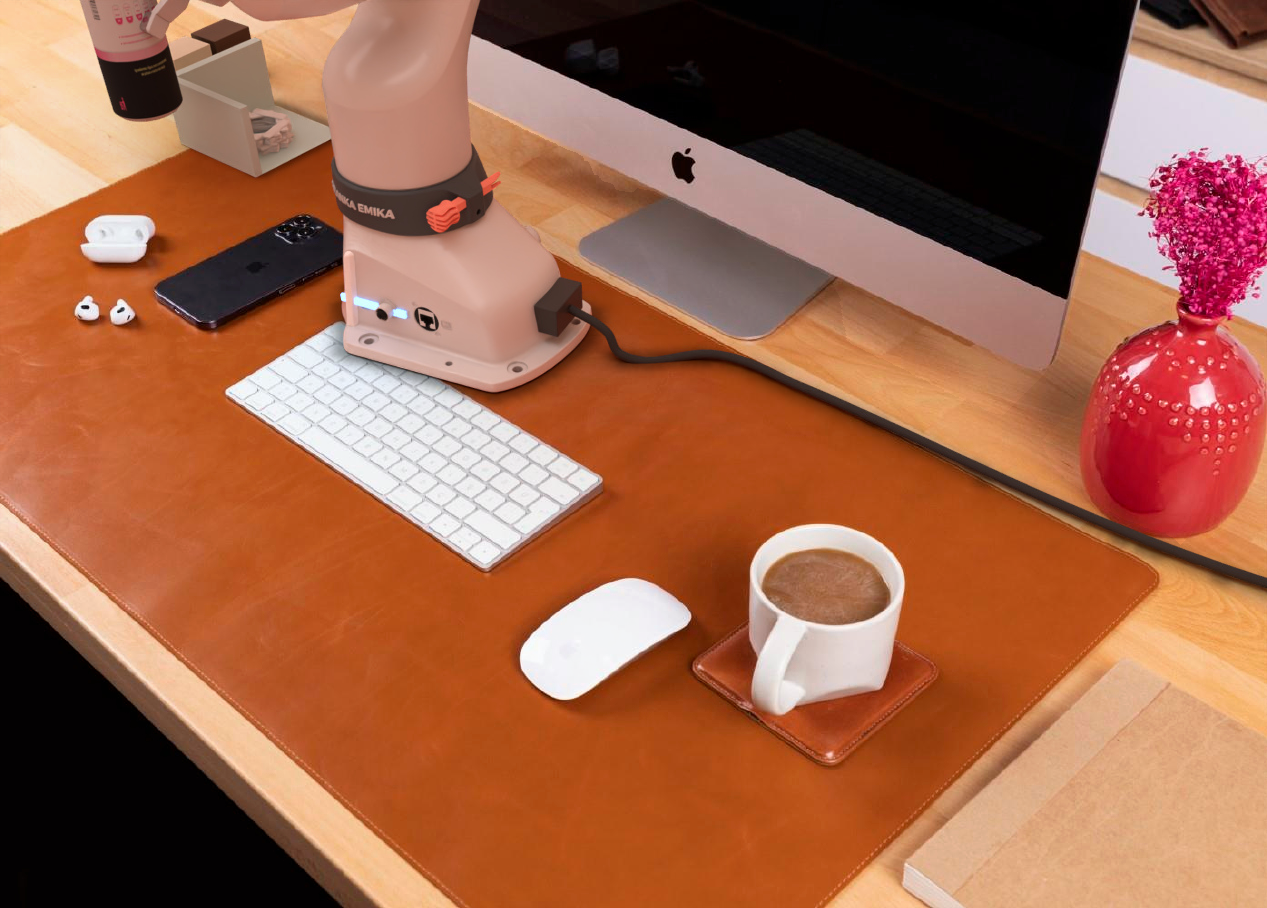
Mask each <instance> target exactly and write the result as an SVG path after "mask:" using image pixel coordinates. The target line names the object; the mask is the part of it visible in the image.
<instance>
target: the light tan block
mask: <svg viewBox="0 0 1267 908" xmlns="http://www.w3.org/2000/svg"><path fill="white" fill-rule="evenodd" d="M168 44H169V48H170V52H171V56H172V59H173V63H174V67H175V71H178V70H180V69H183V68H185V67H187V66H190V65H192V64H194V63H196V62H199V61H201V60H203V59H206V58H208V57H210V56H212V52H211V48H210V44H208V43H205V42H202V41H199V40H196V39H193V38H191V36H187V35H184V36H181V37H179V38H177V39H175V40H172V41H170V42H168Z"/></svg>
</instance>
